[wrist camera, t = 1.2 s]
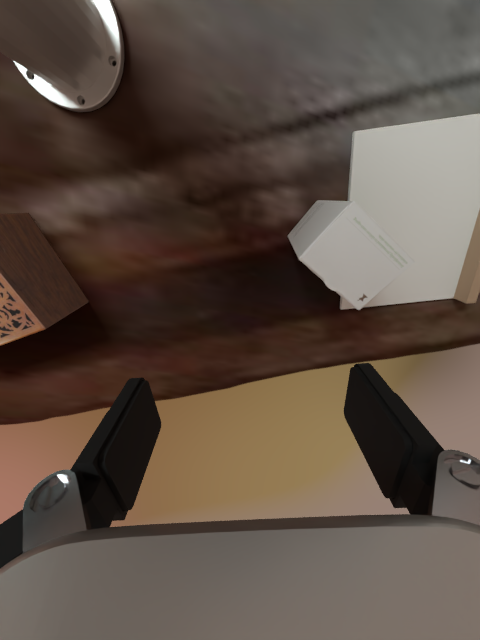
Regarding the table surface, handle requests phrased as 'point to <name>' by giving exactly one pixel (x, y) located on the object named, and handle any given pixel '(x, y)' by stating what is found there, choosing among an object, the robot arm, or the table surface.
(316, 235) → the skincare box
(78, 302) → the tissue box cover
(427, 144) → the white flat piece
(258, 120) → the table surface
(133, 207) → the table surface
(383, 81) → the table surface
